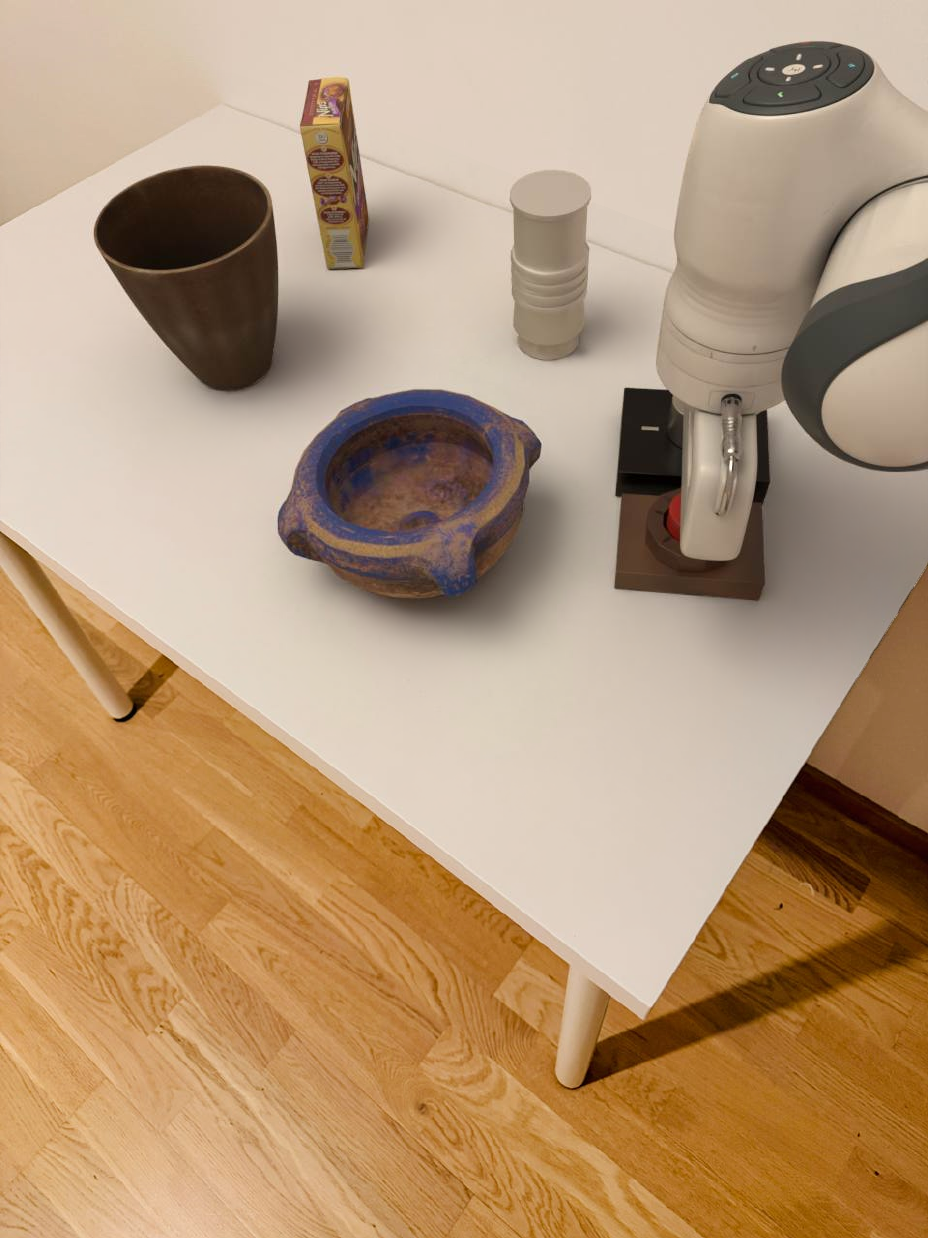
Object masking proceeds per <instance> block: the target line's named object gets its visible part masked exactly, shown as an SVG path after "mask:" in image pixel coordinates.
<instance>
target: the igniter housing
mask: <svg viewBox="0 0 928 1238" xmlns="http://www.w3.org/2000/svg"><path fill="white" fill-rule="evenodd" d="M680 493H681V488H679V489H676V490H673V491H671V492H668V493H665V494H662V495H661V496H654V495H640V494H625V493H622V497H620V499H621V500H620V507H619V519H618V533H617V542H616V544H617V546H616V559H615V570H614V571H615V572H614V585H613V588H614V589H617V590H627V591H628V590H629V591H639V592H640V591H642V592H651V593H652V592H653V593H665V594H677V595H691V596H700V597H714V598H726V599H727V598H728V599H739V600H748V601H749V600H751V601H760V599H761V596H762V595H763V594H762V593H763V591H764V588H765V585H766V570H765V569H766V568H765V567H766V566H765V543H764V515H763V511H764V510H763V506H762V503H758V502H752V506H751V510H750V514H749V519H748V523H747V527H746V531H745V535H744V539H743V543H742V547H741V550H740V553H739V555H738V556H737V557H736V558H735V559H732V560H727V561H714V560H702V559H695V558H690V557H687V556H685V555H683V554H682V552H681V549H680V541H678V540H677V539H675V538H674V537H673V536H672V535H671V534H670V532H669V530H668V528H667V517H668V512H669V506H670V503H671V501H672V500H673V498H674V497H675V496H677V495H678V494H680Z"/></svg>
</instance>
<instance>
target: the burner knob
mask: <svg viewBox="0 0 928 1238" xmlns="http://www.w3.org/2000/svg"><path fill="white" fill-rule="evenodd" d="M683 418H684V406H683V405H682V404H681V403H680V401H679V400H678V399H677V398H676V397H675V396H674V395H673V397H672V403H671V409H670V415H669V421H668V427H667V433H668V436H669V438H670V440H671V441H672V442H673V443H674V444H675V445H677V446H679V447H681V448H683Z"/></svg>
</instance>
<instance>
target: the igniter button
mask: <svg viewBox="0 0 928 1238" xmlns="http://www.w3.org/2000/svg"><path fill="white" fill-rule="evenodd" d="M680 522H681V493H680V494H678V495H677V496H675V497H674V498H673V500H672V501H671V503H670V506H669V512H668V517H667V528H668V530H669V532H670V534H671V535H672V536H673V537H674V538H675V539H677V540H678V541H680Z"/></svg>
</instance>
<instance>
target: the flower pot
mask: <svg viewBox="0 0 928 1238" xmlns="http://www.w3.org/2000/svg"><path fill="white" fill-rule="evenodd" d="M276 232H277V231H276V223H275V215H274V208H273V200H272V196H271V194H270V190H269V189H268V188H267V187H266V186H265V184H264V183H263V182H262V181H261V180H260V179H258V178H256V177H255V176H253V175H252V174H250V173H248V172H245V171H242V170H240V169H237V168H233V167H228V166H222V165H209V164H207V165H189V166H182V167H178V168H172V169H168V170H165V171H161V172H158V173H155V174H152V175H149V176H147V177H145V178H143V179H140V180H138V181H136V182H134V183H133V184H130V185H129V186H127V187H126V188H124V189H123V190H121V191H120V192H118V193H117V194H116V195H114V196H113V197H112V198H111V199H110V200H109V201H108V202H107V203H106V204H105V205H104V206H103V208H102V209H101V210H100V212H99V214H98V216H97V217H96V220H95V223H94V225H93V241H94V244H95V246H96V248H97V250H98V251H99V253H100V255H101V256H102V258H103V259H104V261H105V263H106V264H107V266H108V267H109V269H110V271H111V272H112V273H113V275H114V277H115V279H116V280H117V282H118V283H119V285H120V286H121V288H122V289H123V292H125V294H126V295H127V298H129V300H130V301H131V302H132V305H134V306H135V309H137V311H138V313H140V315H141V316H142V317H143V319H144V321H146V323H147V324H148V325H149V327H150V328H151V329H152V330H153V332H154V333H155V334H156V335H157V336H158V338H159V339H160V340H161V341H162V342H163V343H164V345H165V346H166V347H167V349H169V350H170V351H171V352H172V354H173V355H174V356H175V357H176V358H177V359H178V361H180V362H181V363H182V364H183V365H184V366H185V367H186V368H187V369H188V370H189V372H191V373H192V375H194V376H195V378H197V379H198V380H199V381H200V382H201V383H202V384H203V385H205V386H206V387H208V388H210V389H214V390H216V391H217V390H218V391H225V392H227V391H237V390H241V389H242V390H243V389H245V388H247V387H250V386H253V385H254V384H256V383H257V382H259V381H260V380H262V379H263V378H264V376H266V374H267V373H268V372H269V370H270V368H271V367H272V364H273V358H274V351H275V345H276V339H277V330H278V329H277V328H278V315H279V256H278V255H279V254H278V242H277V233H276Z"/></svg>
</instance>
